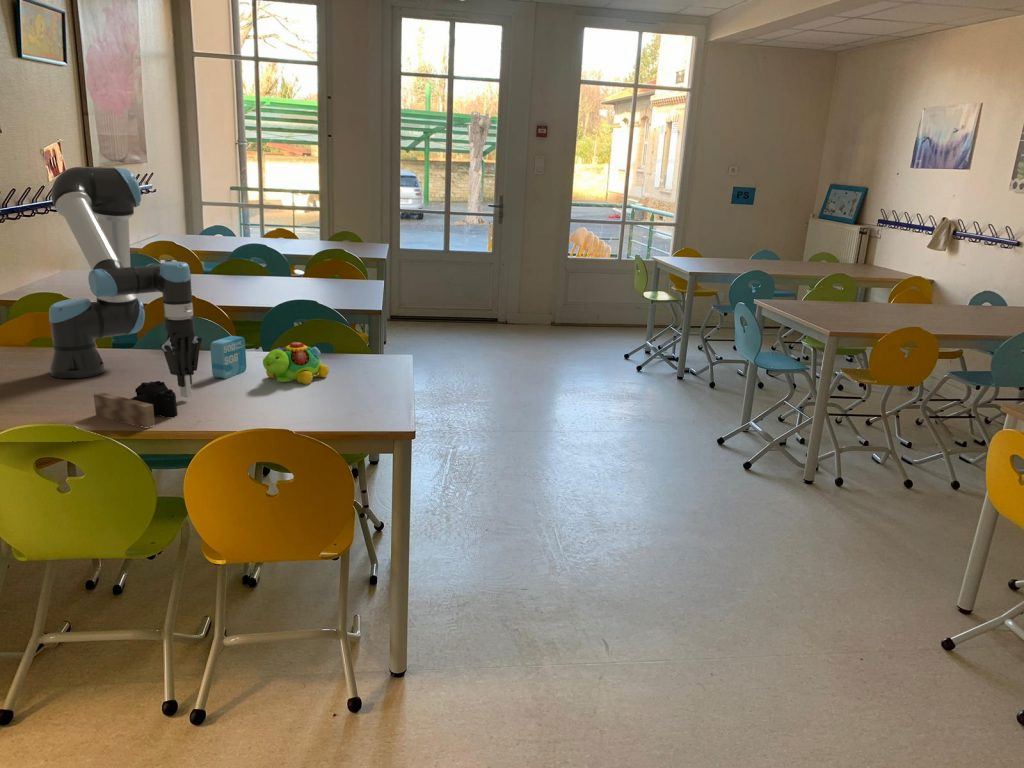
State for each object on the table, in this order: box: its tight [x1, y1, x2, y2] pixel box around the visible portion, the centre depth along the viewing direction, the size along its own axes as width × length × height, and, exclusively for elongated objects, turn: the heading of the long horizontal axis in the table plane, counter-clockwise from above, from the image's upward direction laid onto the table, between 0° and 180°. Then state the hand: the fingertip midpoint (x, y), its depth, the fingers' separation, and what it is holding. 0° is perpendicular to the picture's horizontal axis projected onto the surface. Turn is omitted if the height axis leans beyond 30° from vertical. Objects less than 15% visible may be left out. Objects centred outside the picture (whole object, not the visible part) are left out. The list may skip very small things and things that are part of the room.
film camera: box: [130, 380, 179, 418], centre depth 205 cm, size 15×10×9 cm, turn 58°
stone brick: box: [93, 391, 156, 428], centre depth 200 cm, size 20×2×6 cm, turn 64°
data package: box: [209, 335, 247, 380], centre depth 244 cm, size 12×4×12 cm, turn 163°
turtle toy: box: [262, 341, 330, 385], centre depth 242 cm, size 17×23×12 cm
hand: (186, 396), depth 218 cm, fingers closed
